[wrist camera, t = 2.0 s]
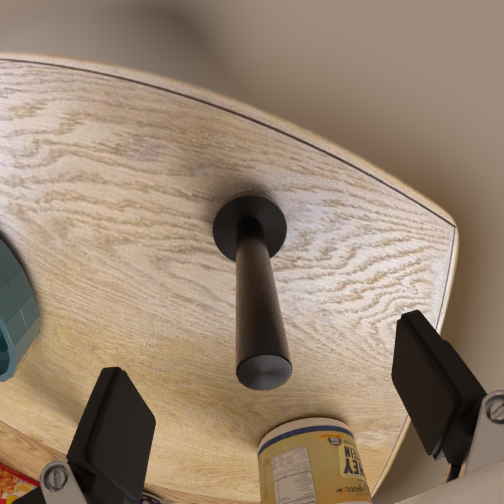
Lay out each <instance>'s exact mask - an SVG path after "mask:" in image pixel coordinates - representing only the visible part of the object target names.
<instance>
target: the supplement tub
mask: <svg viewBox="0 0 504 504" xmlns="http://www.w3.org/2000/svg"><path fill="white" fill-rule="evenodd" d="M257 455H258V466H259V481H260V497H261V504H373V502H372V499H371V495H370V492H369V488H368V485H367V481H366V478H365V474H364V471H363V467H362V464H361V460H360V457H359V454H358V450H357V447H356V443H355V440H354V436H353V433H352V432H351V430H350V428H349V427H348V426H347V425H346V424H344V423H342V422H340V421H338V420H335V419H330V418H306V419H300V420H295V421H292V422H288V423H285V424H283V425H281V426H279V427H277V428H275V429H273V430H272V431H271V432H269V433H268V434H267V435H266V436H265V437H264V438H263V439H262V441H261V442H260V445H259V448H258V453H257Z"/></svg>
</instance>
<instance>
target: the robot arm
mask: <svg viewBox="0 0 504 504" xmlns="http://www.w3.org/2000/svg"><path fill="white" fill-rule="evenodd" d="M391 376H392V381H393V384H394V386H395V388H396V390H397V392H398V394H399V396H400V398H401V400H402V402H403V404H404V406H405V408H406V410H407V412H408V414H409V416H410V418H411V420H412V423H413V425H414V427H415V429H416V431H417V433H418V435H419V437H420V440H421V442H422V444H423V446H424V448H425V451H426V453H427V454H428V455H433V457H434V459H435V461H436V460H438V459H440V458H442V457H446V459H447V461H448V463H449V467H448V469H447V472H446V475H445V478H444V480H443V483H442V485H441V486H438V487H436V488H434V489H431V490H429V491H427V492H424V493H422V494H419V495H417V496H414V497H411V498H409V499H406V500H403V501H400V502H398V503H395V504H504V390H496V391H493V392H491V393H489V394H488V395H487V393H486V392H485V390H484V389H483V387H482V386H481V385H480V383H479V382H478V380H477V379H476V378H475V376H474V375H473V374H472V372H471V371H470V370H469V368H468V367H467V365H466V364H465V363H464V361H463V360H462V359H461V357H460V356H459V355H458V353H457V352H456V351H455V350H454V348H453V347H452V346H451V344H450V343H449V342H447V341H446V340H442V338H441V337H440V335H439V334H438V333H437V332H436V330H435V329H434V328H433V327H432V325H431V324H430V323H429V322H428V320H427V319H426V318H425V317H424V315H423V314H422V313H421V312H420V311H419V310H414V311H411V312H407V313H404V314H402V316H401V319H399V320H398V321H397V326H396V338H395V348H394V357H393V366H392V374H391ZM155 425H156V421H155V417H154V415H153V414H152V412H151V411H150V409H149V408H148V406H147V405H146V403H145V402H144V400H143V399H142V397H141V396H140V394H139V392H138V391H137V389H136V388H135V386H134V385H133V383H132V381H131V380H130V378H129V376H128V375H127V373H126V372H125V371H124V370H121V368H119V367H107V368H103V369H102V371H101V373H100V375H99V378H98V380H97V382H96V384H95V387H94V389H93V391H92V394H91V396H90V398H89V401H88V403H87V406H86V408H85V410H84V413H83V415H82V418H81V420H80V423H79V425H78V428H77V430H76V433H75V435H74V438H73V441H72V443H71V446H70V449H69V451H68V454H67V457H66V458H67V459H68V461H67V463H65V462H63V461H53V462H50V463H49V464H48V465H46V466H45V467H44V469H43V470H42V472H41V474H40V486H38V487H37V488H35V489H33V490H31V491H30V492H28V493H26V494H25V495H23V496H21V497H19V498H17V499H16V500H14V501H13V502H12V503H11V504H137V503H138V500H140V499H141V498H142V493H143V488H144V482H145V476H146V471H147V466H148V460H149V455H150V450H151V445H152V440H153V435H154V430H155Z"/></svg>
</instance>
